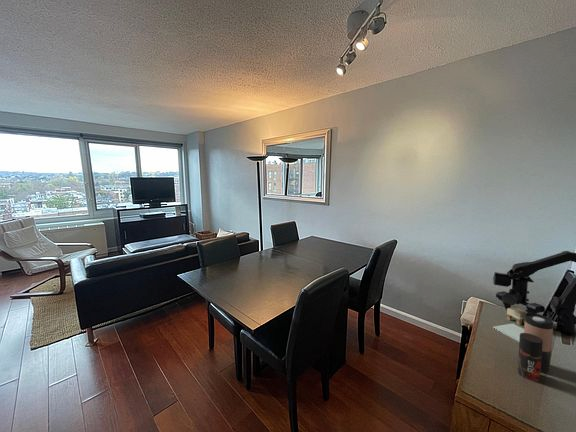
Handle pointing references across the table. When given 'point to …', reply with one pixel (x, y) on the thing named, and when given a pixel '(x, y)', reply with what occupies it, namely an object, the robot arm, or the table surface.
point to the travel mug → (541, 335)
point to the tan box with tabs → (516, 314)
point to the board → (510, 330)
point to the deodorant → (530, 356)
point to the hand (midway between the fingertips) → (517, 316)
